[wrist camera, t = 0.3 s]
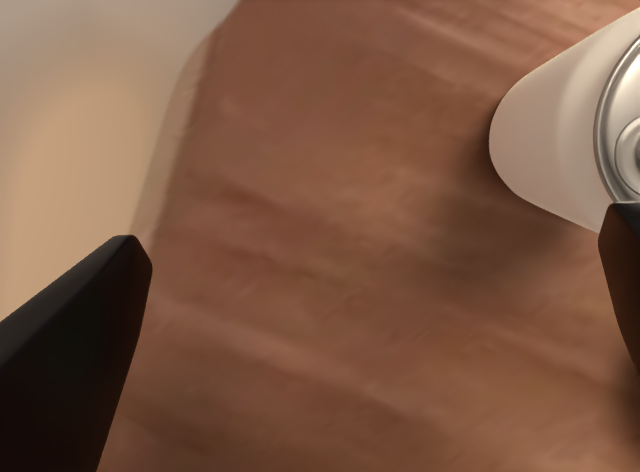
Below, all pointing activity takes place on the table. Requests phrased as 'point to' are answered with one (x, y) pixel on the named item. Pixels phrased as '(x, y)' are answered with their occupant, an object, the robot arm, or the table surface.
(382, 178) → the table surface
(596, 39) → the can
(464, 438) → the table surface
